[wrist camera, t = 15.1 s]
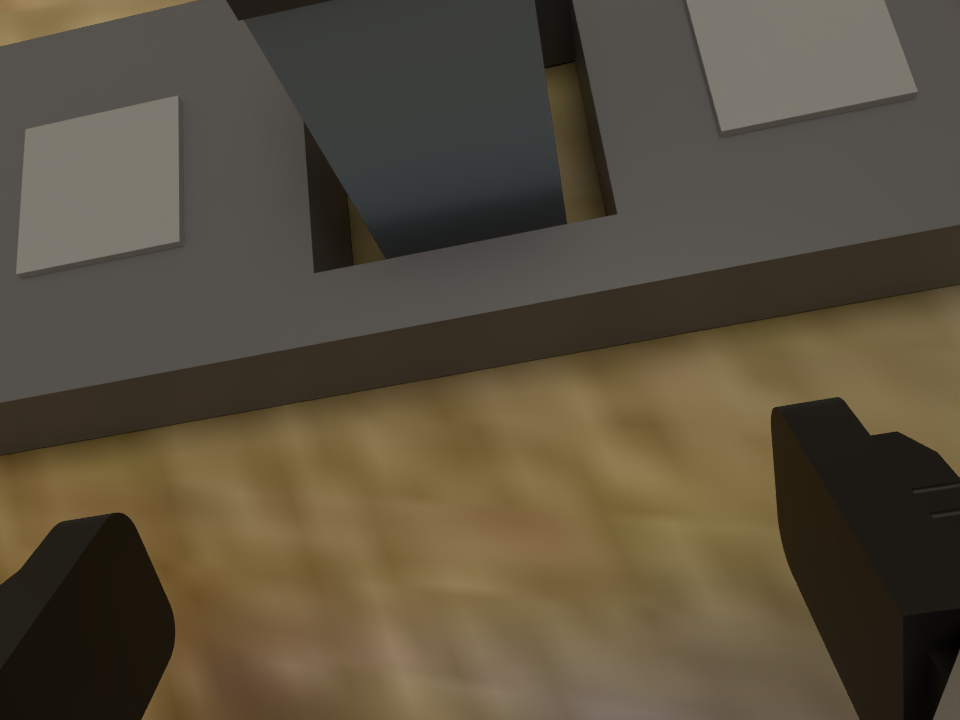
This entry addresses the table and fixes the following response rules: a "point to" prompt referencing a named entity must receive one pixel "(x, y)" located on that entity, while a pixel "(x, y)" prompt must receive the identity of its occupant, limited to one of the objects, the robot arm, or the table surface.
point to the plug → (422, 112)
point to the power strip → (463, 268)
